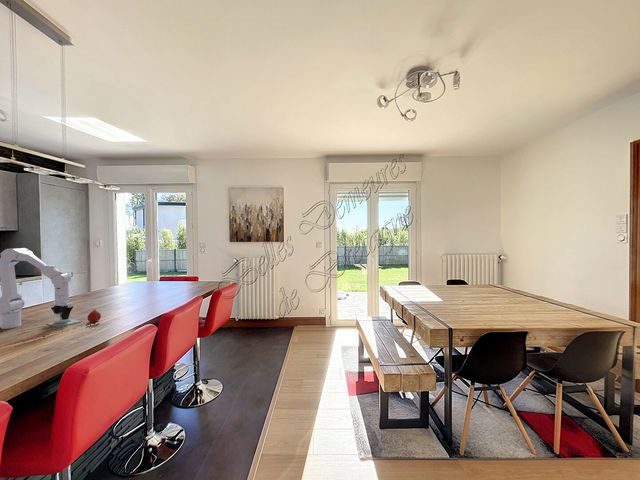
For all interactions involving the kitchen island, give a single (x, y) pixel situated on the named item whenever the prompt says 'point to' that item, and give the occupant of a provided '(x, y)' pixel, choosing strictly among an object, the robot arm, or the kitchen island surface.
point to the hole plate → (64, 323)
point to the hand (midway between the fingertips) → (62, 318)
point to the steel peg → (60, 318)
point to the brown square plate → (34, 328)
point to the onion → (94, 316)
